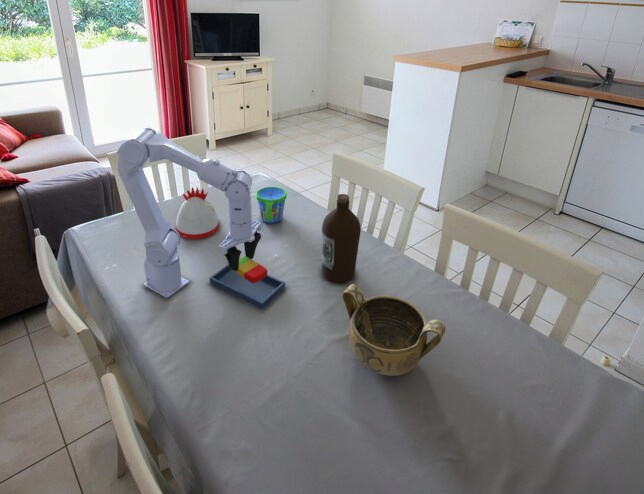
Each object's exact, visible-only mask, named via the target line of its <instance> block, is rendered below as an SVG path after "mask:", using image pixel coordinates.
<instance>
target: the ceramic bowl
mask: <svg viewBox="0 0 644 494" xmlns="http://www.w3.org/2000/svg"><path fill="white" fill-rule="evenodd" d="M342 300H343V302H344V305H345V309H346V311H347V314H348V318H349V325H348V326H349V327H348V336H349V337H348V338H349V344H350V346H351V349H352V352H353V355H355V357H356V359H357V360H358V361H359V362H360V363H361V365H363V366H364V367H365V368H366V369H368V370H370V371H371V372H374V373H376V374H379V375H382V376H389V377H390V376H391V377H396V376H401V375H405V374H408V373H409V372H411V371H412V370H414V369H415V367H416V366H417V365H418V364H419V362H420V360H421V359H422V358H423V357H425V356H426V355H427V354H429V353H430V352H431V351H432V350H433V349H434V348H436V347H437V346H438V345H439V344H440V343H441V341H442V339H443V336H444V334H445V332H446V325H445V323H444V322H443V321H441V320H439V319H431V320H429V321H426V318H425V316H424V314H423V313H422V311H421V310H420V309H419V308H418V307H417V306H415V305H414V304H413V303H411V302H410V301H407V300H405V299H402V298H399V297H397V296H392V295H376V296H371V297H369V298H365V296H364V293H363V292H362V290H361V288H360V287H359V286H358V285H357V284H354V283H353V284H350V285H349V286H348V287H347V288H346V289H345V290H344V291H343V292H342ZM428 333H435V334H436V335H435V336H434V337H433V338H432V339H431V340H430V341H428ZM427 341H428V342H427Z"/></svg>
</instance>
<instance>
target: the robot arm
mask: <svg viewBox="0 0 644 494" xmlns="http://www.w3.org/2000/svg"><path fill="white" fill-rule="evenodd" d="M116 155H117V156H118V159H117V168H116V169H117V173H118V175H119V177H120V180H121V182H122V183H123V186H124V188H125V191H126V192H127V194H128V197H129V199H130V202H131V203H132V206H133V208H134V210H135V211H136V215H137V217H138V219H139V221H140V223H141V225H142V227H143V229H144V241H143V244H144V245H143V246H144V247H145V259H144V261H143V268H144V276H145V282H144V283H143V286H144V287H146V288H147V289H149V290H151V291H153V292H155V293H157V294H158V295H160V296H162V297H164V298H166V299H168V298H169V297H171V296H172V295H174V294H175V293H177V292H178V291H179V290H181V289H182V288H184V287H186V285H187V284H189V283H190V282H189V280H188V279H186V278H185V277H182V272H181V270H182V269H181V262H180V261H181V260H180V253H179V251H178V246H180V244H181V240H182V239H181V235H179V233H178V232H177V229H175V228H174V227H173V225H172V223H171V222H168V221H166V219H165V217H164V215H163V212H162V210H161V208H160V206H159V204H158V202H157V199H156V197H155V194H154V192H153V190H152V188H151V186H150V183H149V180H148V178H147V176H146V174H145V171H144V167H145V165H146V163H147V161H148V159H149V163H154V162H157V161H158V162H159V161H162V160H167V161H169V162H171V163H174V164H176V165H179V166H181V167H183V168H185V169H187V170H190V171H191V172H194V173H195V174H196V176H197V178H198V180H199V181H202V182H204V183H205V184H207V185H209V186H211V187H213V188H215V189H217V190H220V191H221V192H223V193H224V195H225V197H226V198H227V201H228V203H227V207H228V208H227V209H228V211H227V212H228V227H229V228H228V229H229V230H228V231H229V232H228V233H227V235H226V237H225V238H224V239H223V240H222V242H220V244H219V245H218V253H220V254H224V255H225V256H224V255H223V256H224V257H225V258H226V260H227V263H228V264H229V265H230V268H231V269H232V270H234V271H238V268H239V259H240V258H241V255H242V252H243V251H242V250H240V249H238V248H237V246H239V245H242V244H243V245H244V254H245V255H244V256H247V257H248V258H250V259H252V260H253V259H254V257H255V254H256V249H257V247H258V244H259V242H260V240H261V239H262V233H260V232H258V231H261V230H262V222H260V221H258V220H254V221H252V220H253V219H252V216H253V213H252V198H251V189H252V186H253V179H252V177H251V175H250V174H249V173H248V172H246V170H244V169H243V170H242V169H238V170H237V169H232V168H230V167H228V166H226V165H224V164H222V163H221V162H220V160H219V159H217V158H215V159H212V158H206V159H202V158H200V157H199V156H197V155H195V154H194V153H192V152H190V151H189V150H187V149H185V148H183V147H181V146H180V145H178V144H177V143H175V142H173V141H172V140H170V139H169V138H168V137H167V136H166V135H165V134H164V133H162V132H159V131H156V130H155V129H153V128H151V127H147V126H144V127H141V128H139V129H137V131H136V132H135V133H134V134H133V135H131V136H130V137H129V138H128V139H126V140H124V141H123V142H122V143H121V145H120V146H119V148H118V149H117V151H116Z"/></svg>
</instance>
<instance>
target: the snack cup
mask: <svg viewBox="0 0 644 494" xmlns="http://www.w3.org/2000/svg"><path fill="white" fill-rule="evenodd" d="M287 196H288V195H287V190H285V189H284V188H282V187H278V186H266V187H262V188H260V189H258V190H257V191H256V192H255V198H256V200H257V204H258V210H259V215H260V220H261V221H262V222H264V223H267V224H276V223H278V222H281V220H282V219H283V215H284V210H285V204H286V200H287Z"/></svg>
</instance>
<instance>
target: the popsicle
mask: <svg viewBox="0 0 644 494" xmlns="http://www.w3.org/2000/svg"><path fill="white" fill-rule="evenodd" d="M223 256H224V257H225V255H224V254H223ZM230 269H231V268H230ZM231 270H232V269H231ZM233 271H234V270H233ZM234 272H236V273H237V274H239V275H240V276H242V277H243V278H245V279H247V280H248V281H250V282H251V283H257V282H259V281H260V280H262V279H263V278H265V277H266V276H267V275H268V268H266V267H265V266H264V265H261V264H260V263H258V262H257V261H256V260H253V259H250V258H248V257H247V256H246V255H243V256H242V257H240V258H239V268H238V271H234Z"/></svg>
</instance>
